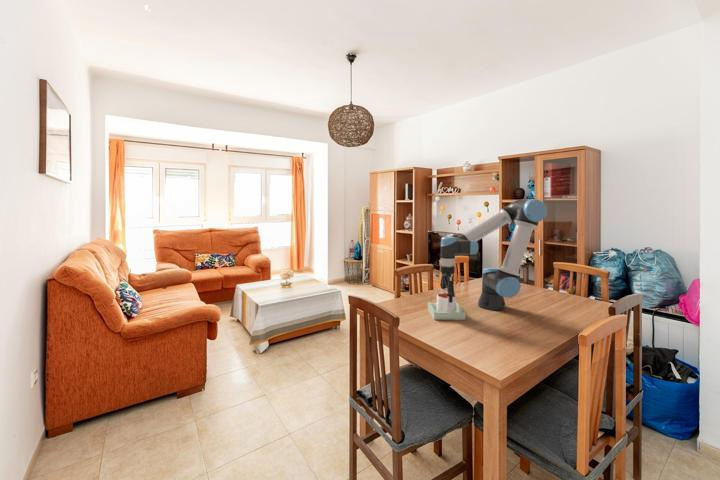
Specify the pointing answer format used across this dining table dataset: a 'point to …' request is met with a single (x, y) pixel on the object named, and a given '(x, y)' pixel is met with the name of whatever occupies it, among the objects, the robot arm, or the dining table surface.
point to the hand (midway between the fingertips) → (446, 303)
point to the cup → (445, 303)
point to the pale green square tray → (446, 313)
